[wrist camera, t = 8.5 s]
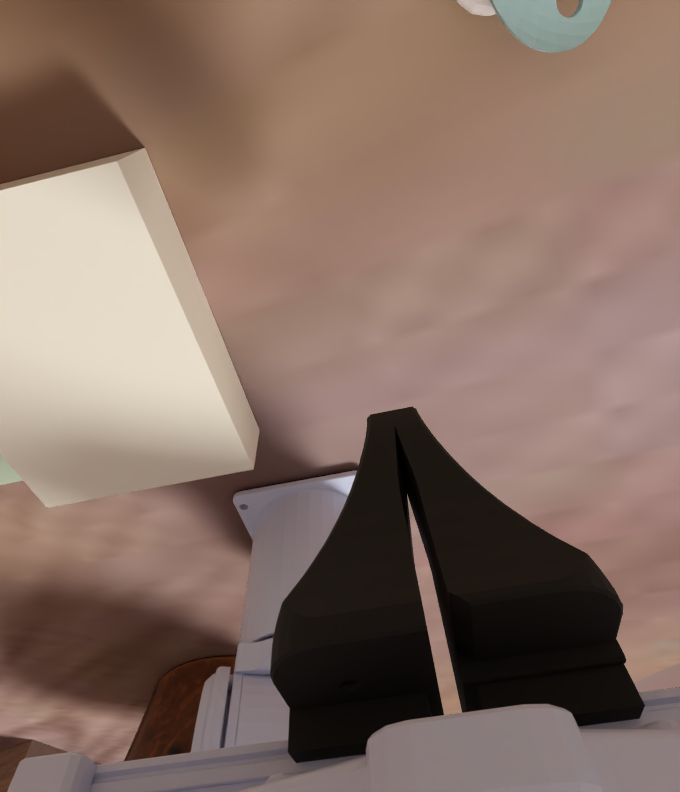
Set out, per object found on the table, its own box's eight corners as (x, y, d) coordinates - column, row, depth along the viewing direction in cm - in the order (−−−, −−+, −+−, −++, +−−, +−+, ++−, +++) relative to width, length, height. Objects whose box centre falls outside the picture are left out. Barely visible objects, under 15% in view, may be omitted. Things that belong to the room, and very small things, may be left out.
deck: (259, 430, 25) (253, 469, 23) (71, 466, 26) (46, 508, 24) (144, 147, 17) (116, 161, 15) (-120, 214, 18) (-187, 237, 16)
